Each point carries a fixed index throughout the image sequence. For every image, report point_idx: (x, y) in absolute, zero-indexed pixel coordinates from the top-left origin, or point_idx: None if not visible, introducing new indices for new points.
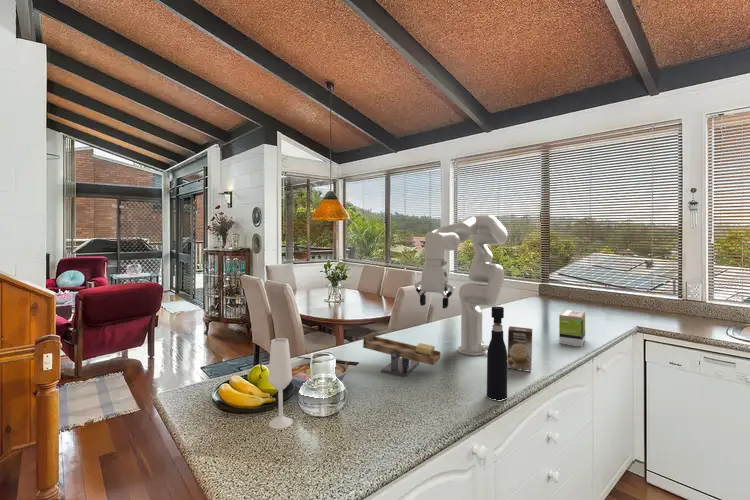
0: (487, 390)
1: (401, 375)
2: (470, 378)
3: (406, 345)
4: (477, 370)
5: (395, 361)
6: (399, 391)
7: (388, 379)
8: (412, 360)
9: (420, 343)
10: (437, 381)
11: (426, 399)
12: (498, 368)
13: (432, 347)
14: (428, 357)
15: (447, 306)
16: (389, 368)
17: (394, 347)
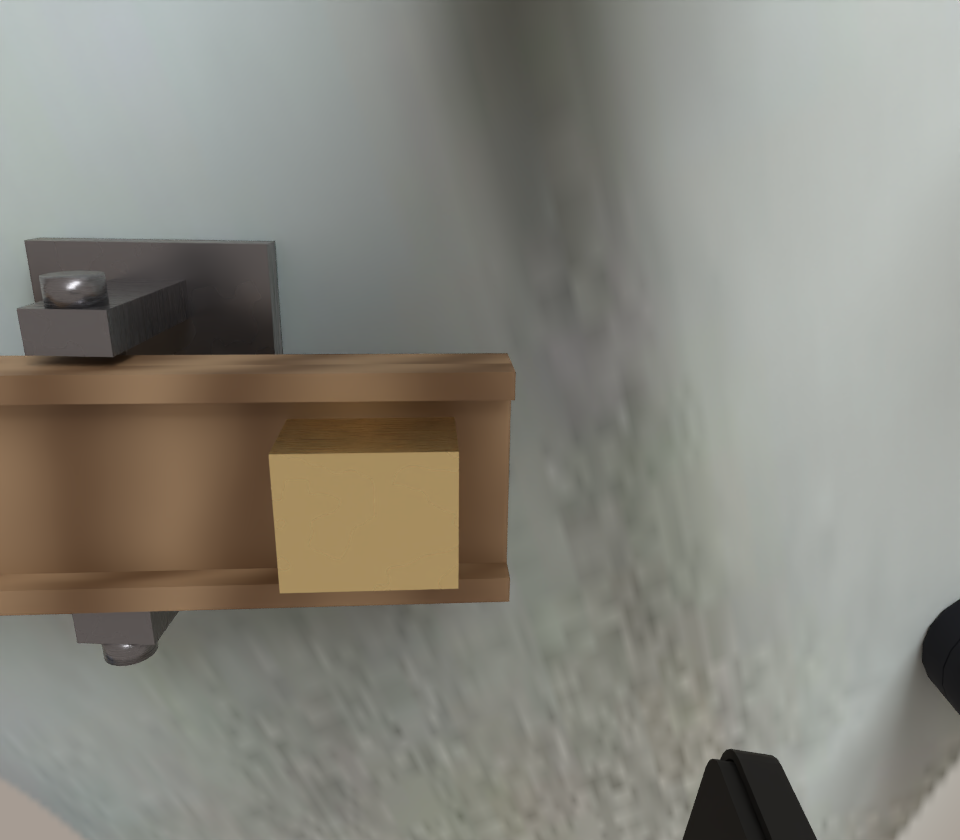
0: (951, 702)
1: None
2: (791, 397)
3: (98, 401)
4: (841, 172)
5: None
6: (373, 787)
7: (214, 657)
8: (199, 258)
9: (279, 470)
10: (552, 557)
11: (562, 819)
12: None
13: (450, 505)
14: (456, 601)
15: (779, 766)
16: None
17: (9, 484)
